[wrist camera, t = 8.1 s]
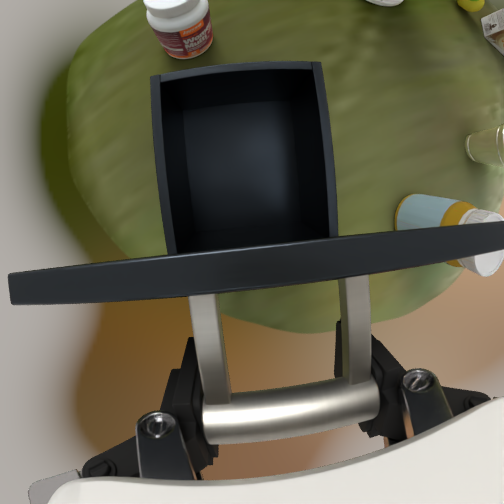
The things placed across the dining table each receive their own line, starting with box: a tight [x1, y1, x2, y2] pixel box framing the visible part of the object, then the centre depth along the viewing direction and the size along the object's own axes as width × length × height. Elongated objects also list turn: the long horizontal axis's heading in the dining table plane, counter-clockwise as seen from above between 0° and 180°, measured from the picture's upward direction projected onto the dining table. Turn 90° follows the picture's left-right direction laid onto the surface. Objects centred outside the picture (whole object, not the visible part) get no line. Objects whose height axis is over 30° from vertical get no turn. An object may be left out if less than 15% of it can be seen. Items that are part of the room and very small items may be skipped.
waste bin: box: [150, 61, 338, 254], centre depth 25 cm, size 16×14×11 cm
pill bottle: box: [143, 0, 213, 59], centre depth 20 cm, size 6×6×11 cm
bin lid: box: [8, 221, 504, 445], centre depth 13 cm, size 16×14×6 cm
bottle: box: [395, 194, 504, 276], centre depth 26 cm, size 7×7×15 cm
